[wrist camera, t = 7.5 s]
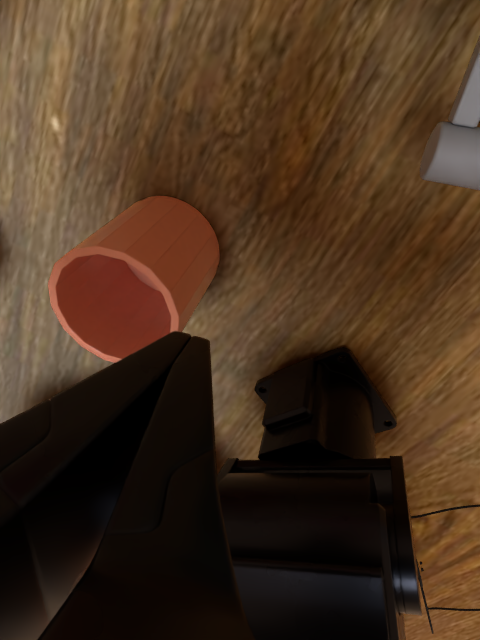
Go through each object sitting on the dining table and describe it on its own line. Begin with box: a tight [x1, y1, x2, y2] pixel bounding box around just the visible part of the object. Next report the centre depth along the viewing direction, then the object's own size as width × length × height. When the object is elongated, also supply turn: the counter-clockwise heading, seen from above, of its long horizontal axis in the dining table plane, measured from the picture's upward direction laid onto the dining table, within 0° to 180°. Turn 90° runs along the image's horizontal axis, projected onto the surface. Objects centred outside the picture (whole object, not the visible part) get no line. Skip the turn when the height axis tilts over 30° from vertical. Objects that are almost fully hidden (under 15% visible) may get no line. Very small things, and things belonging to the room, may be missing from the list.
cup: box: [48, 196, 220, 363], centre depth 20 cm, size 6×6×6 cm
